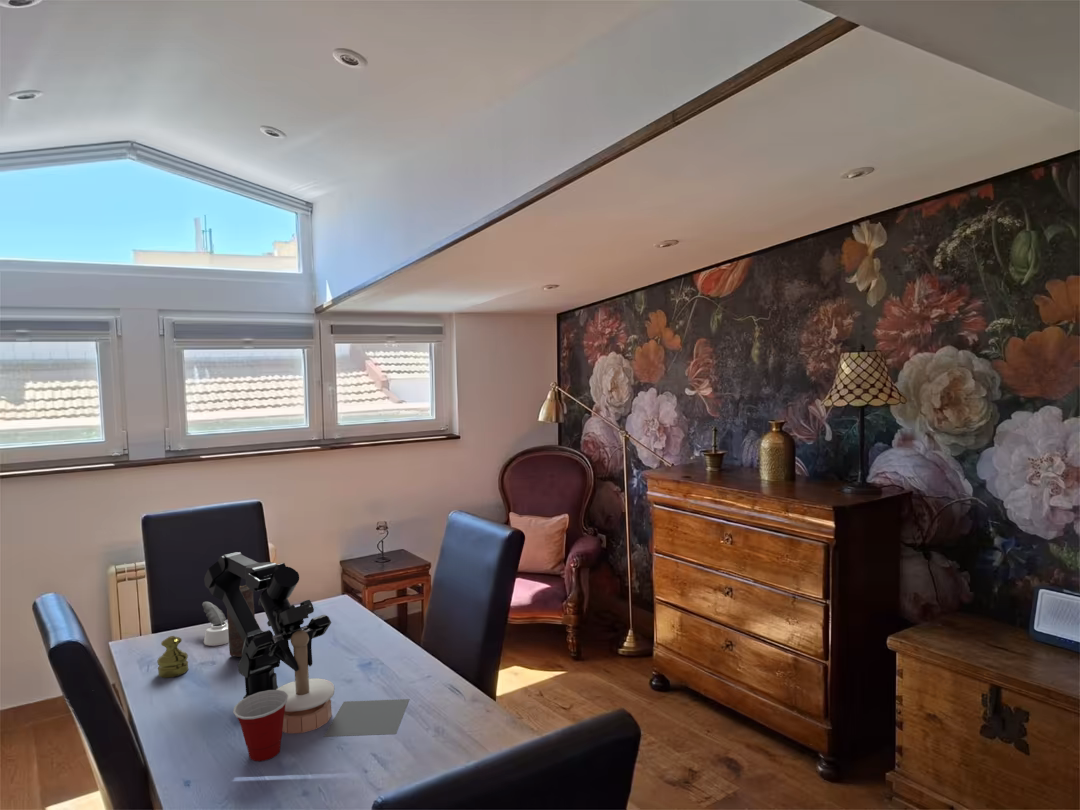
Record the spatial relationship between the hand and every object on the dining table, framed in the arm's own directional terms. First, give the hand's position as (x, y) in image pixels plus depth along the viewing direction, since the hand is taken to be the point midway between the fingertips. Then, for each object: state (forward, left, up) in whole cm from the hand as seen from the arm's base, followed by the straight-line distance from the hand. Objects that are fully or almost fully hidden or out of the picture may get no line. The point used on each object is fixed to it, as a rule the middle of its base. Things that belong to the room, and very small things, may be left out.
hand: (304, 667), depth 159 cm
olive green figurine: (-47, +31, -13) cm, 58 cm away
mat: (+14, +1, -13) cm, 19 cm away
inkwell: (-48, +56, -13) cm, 75 cm away
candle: (-32, +41, -13) cm, 54 cm away
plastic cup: (-5, -13, -13) cm, 19 cm away
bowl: (-1, +1, -13) cm, 13 cm away
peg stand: (-1, +1, -7) cm, 7 cm away
